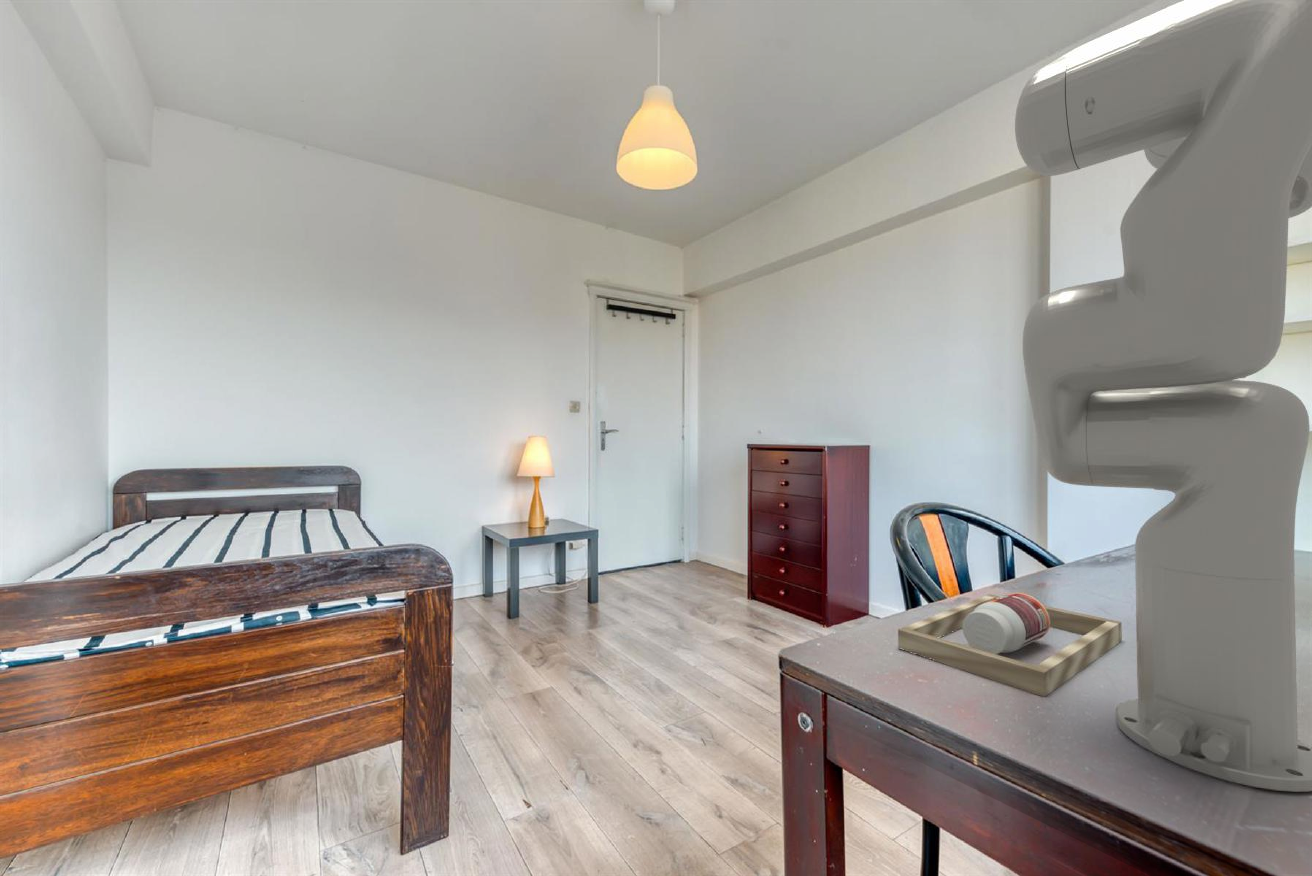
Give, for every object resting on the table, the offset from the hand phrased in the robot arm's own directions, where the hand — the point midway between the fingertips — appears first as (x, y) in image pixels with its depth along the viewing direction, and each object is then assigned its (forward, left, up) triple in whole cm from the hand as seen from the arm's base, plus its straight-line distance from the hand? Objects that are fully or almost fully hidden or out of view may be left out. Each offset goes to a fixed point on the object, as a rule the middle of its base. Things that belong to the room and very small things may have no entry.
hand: (1212, 434), depth 67 cm
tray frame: (-18, +16, -27) cm, 36 cm away
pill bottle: (-14, +16, -24) cm, 32 cm away
